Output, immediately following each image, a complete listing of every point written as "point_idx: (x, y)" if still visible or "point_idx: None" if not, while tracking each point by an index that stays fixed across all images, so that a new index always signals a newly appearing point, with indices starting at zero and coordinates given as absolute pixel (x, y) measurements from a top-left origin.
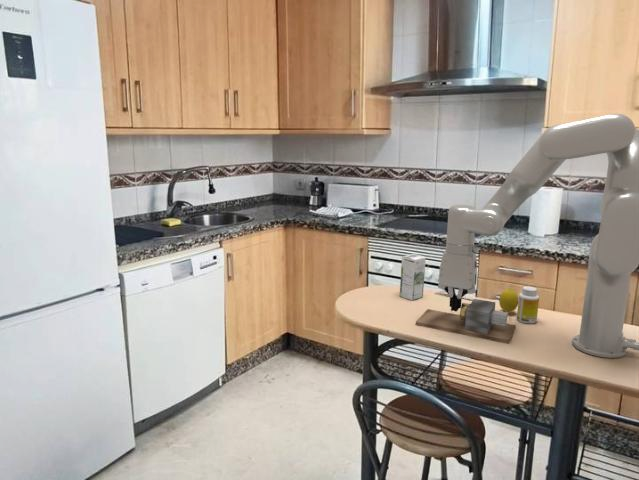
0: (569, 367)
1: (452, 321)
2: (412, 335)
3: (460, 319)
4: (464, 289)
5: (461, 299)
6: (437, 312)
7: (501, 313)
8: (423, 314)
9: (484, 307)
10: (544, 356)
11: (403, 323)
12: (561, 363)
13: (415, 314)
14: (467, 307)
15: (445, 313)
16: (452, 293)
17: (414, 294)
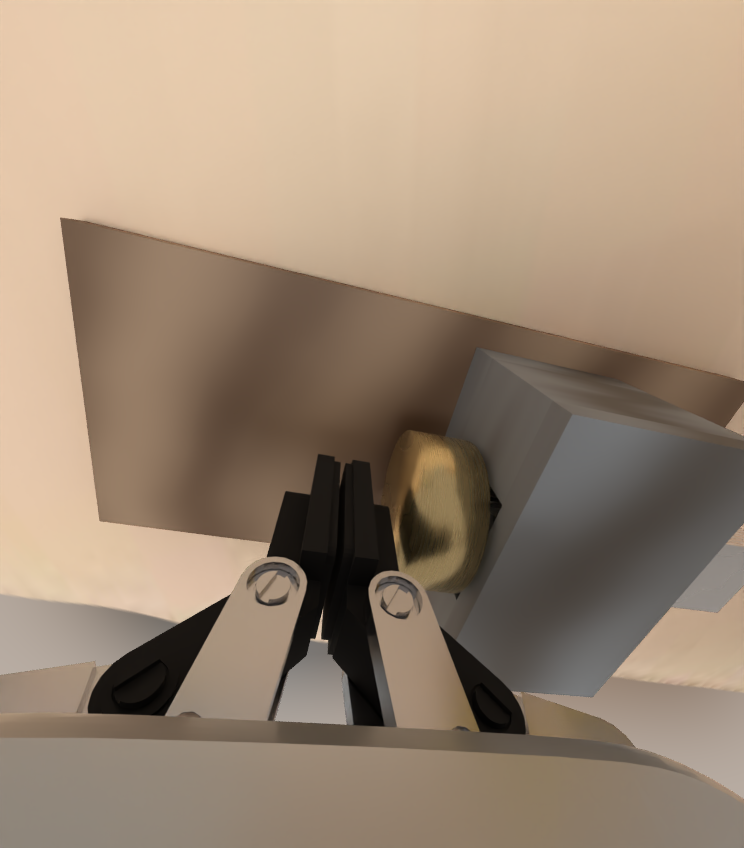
0: (729, 663)
1: (328, 448)
2: (156, 615)
3: (382, 500)
4: (461, 713)
5: (397, 563)
6: (180, 292)
7: (705, 583)
8: (87, 379)
9: (599, 620)
10: (690, 625)
11: (34, 505)
12: (720, 649)
13: (15, 318)
14: (446, 591)
15: (253, 297)
16: (274, 710)
17: None
